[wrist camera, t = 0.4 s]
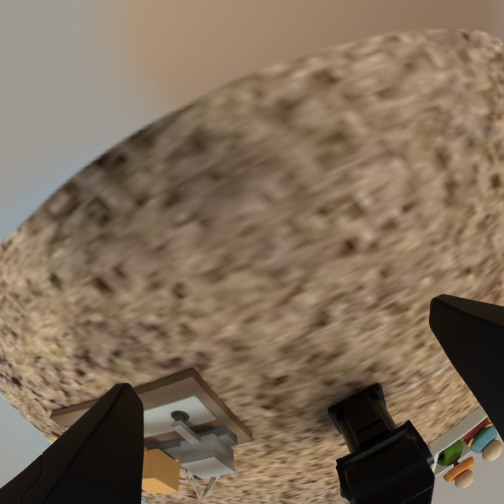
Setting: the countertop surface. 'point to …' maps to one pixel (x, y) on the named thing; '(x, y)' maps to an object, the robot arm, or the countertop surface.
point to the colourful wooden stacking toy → (479, 441)
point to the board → (182, 423)
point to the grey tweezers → (208, 484)
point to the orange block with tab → (159, 472)
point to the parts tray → (455, 438)
